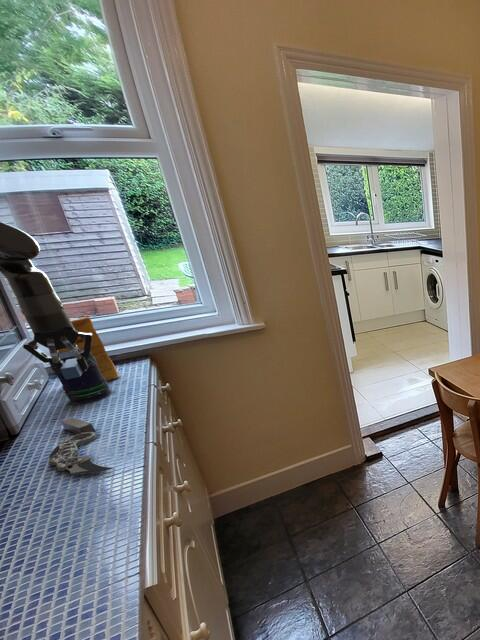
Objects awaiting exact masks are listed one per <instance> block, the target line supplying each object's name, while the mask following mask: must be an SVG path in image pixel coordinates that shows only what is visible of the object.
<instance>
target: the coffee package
mask: <svg viewBox="0 0 480 640" xmlns="http://www.w3.org/2000/svg"><path fill="white" fill-rule="evenodd" d="M70 321H71V323H72V325H73V327H74V328H75V329H76V330H77V331H78V332H79V333H92V334H93V339H92V347H91V353H92V354H93V356H94V357H95V359H96V362H97V363H98V369H99V371H100V373H101V375H102V376H103V377H104V378H105V379H106V382H107V383H108V382H109V381H113V380H115V379H118V378H119V373H118V371H117V367H116V366H115V364H114V362H113V360H112V359H111V357H110V356H109V355H108V352H107V350H106V348H105V345H104V344H103V341H102V340H101V338H100V336H99V334H98V333H97V330H96V329H95V328H94V324H93V321H92V319H91V318H90V317H89V316H85V317H81V318H78V319H75V320H70ZM75 344H76V345H77V346H78V348H79V349H83V348H84V345H85V341H82V339H81V337H79V336H78V338H77V340H76V343H75ZM64 351H69V349H68V348H67V349H60V350H59V353H60V352H64Z"/></svg>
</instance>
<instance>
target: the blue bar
mask: <svg viewBox="0 0 480 640" xmlns="http://www.w3.org/2000/svg"><path fill="white" fill-rule="evenodd" d="M76 360H77V358H74V359H68V360H66V362H65V363H64V364H63V366H62V367H61V369H60V370H61V372H62V374H63V376H64V378H65V379H71V378H76V377H81V375H82V373H83V372H82V370H81V368H80V366H79V364H78V363H77V361H76Z"/></svg>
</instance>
